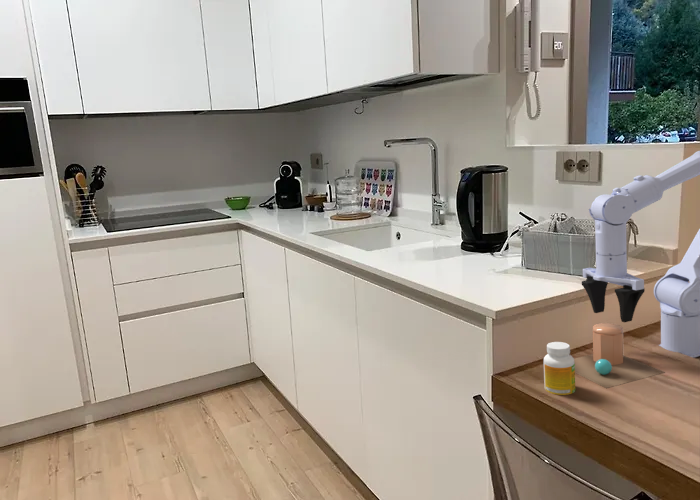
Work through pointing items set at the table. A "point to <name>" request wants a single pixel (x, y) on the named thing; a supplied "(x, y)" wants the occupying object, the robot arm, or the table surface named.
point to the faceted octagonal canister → (608, 343)
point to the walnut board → (614, 371)
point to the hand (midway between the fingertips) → (612, 316)
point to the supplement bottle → (559, 369)
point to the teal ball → (603, 366)
